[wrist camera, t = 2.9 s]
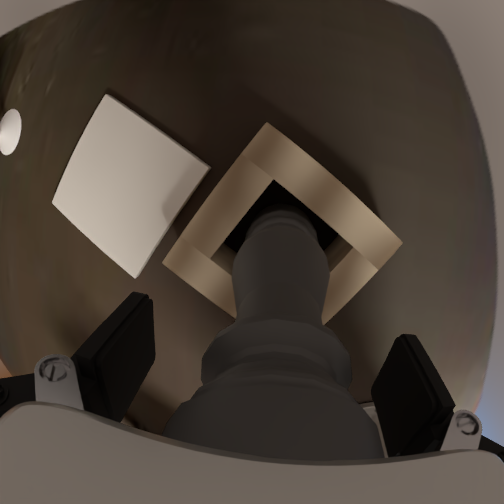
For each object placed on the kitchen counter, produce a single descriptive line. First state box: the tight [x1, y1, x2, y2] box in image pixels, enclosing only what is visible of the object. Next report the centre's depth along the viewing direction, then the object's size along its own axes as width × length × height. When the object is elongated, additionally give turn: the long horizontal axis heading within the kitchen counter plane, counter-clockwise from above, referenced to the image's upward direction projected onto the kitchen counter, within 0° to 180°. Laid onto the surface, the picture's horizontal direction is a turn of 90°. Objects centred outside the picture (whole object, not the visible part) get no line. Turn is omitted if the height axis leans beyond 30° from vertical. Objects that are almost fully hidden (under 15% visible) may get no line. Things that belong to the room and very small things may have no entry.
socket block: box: [162, 122, 402, 325], centre depth 24 cm, size 14×14×5 cm
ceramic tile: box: [52, 94, 211, 278], centre depth 26 cm, size 14×14×1 cm
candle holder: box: [162, 203, 385, 461], centre depth 15 cm, size 6×6×25 cm
